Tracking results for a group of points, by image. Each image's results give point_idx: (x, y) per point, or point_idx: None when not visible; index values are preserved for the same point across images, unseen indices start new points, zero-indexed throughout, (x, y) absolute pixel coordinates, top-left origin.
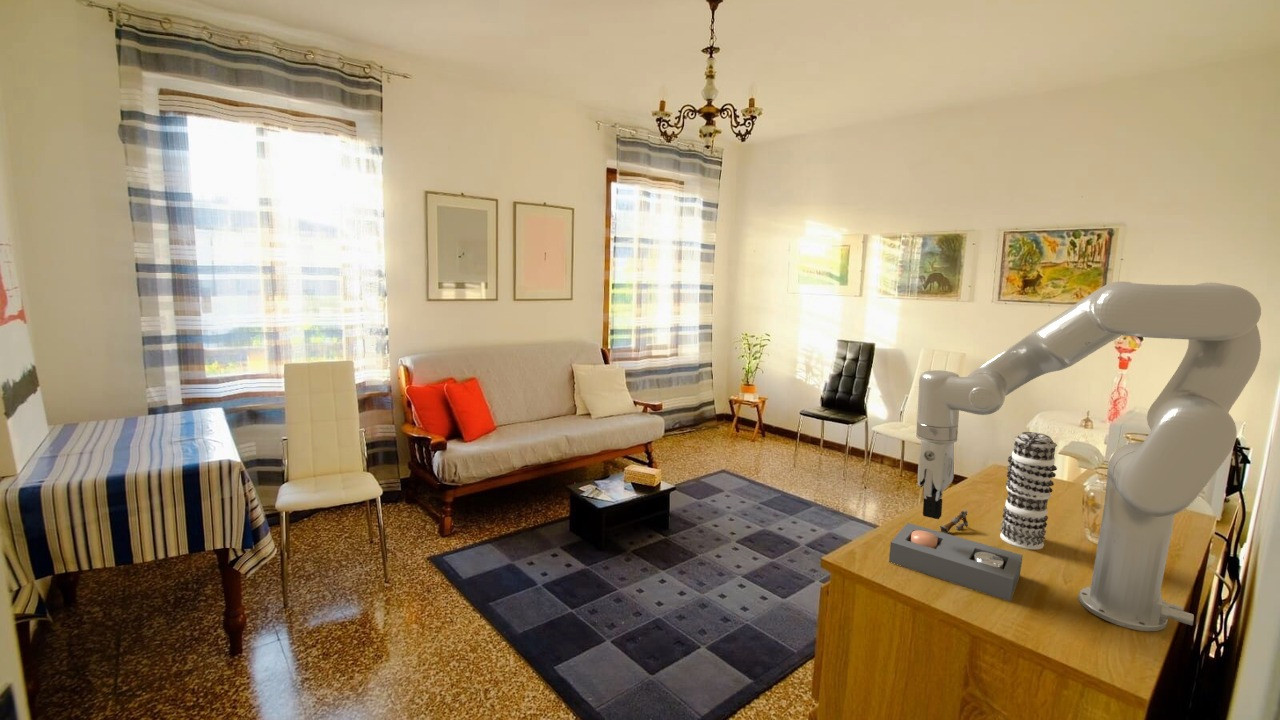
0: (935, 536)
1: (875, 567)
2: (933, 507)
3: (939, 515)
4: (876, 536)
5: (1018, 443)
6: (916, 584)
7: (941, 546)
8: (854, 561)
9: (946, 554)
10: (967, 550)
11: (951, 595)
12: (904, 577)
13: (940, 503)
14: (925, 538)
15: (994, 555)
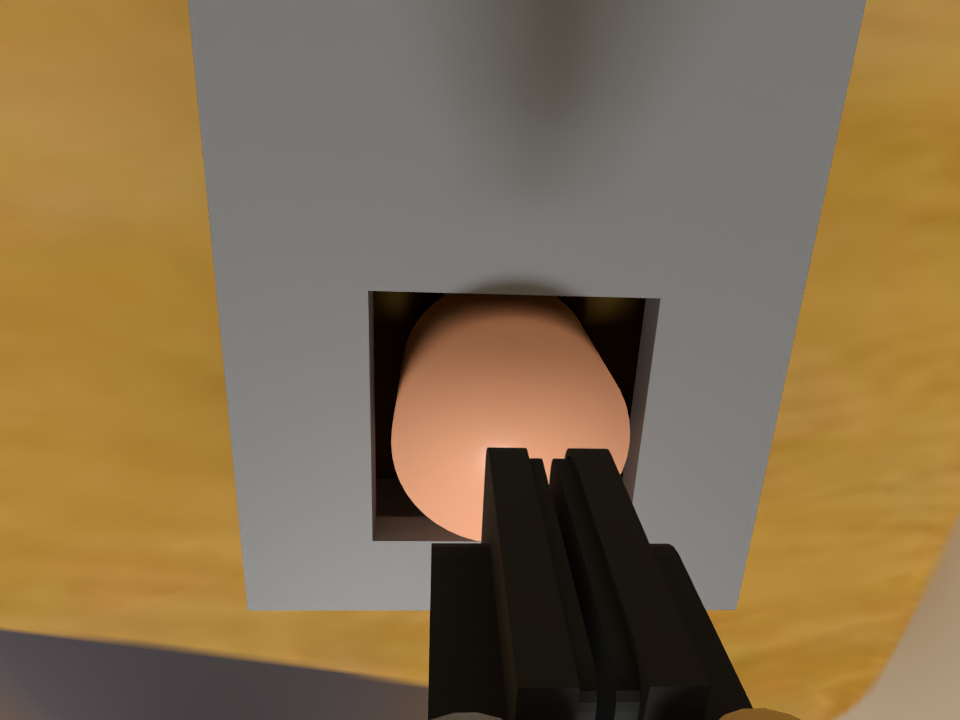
0: (456, 360)
1: (796, 547)
2: (716, 652)
3: (616, 476)
4: (355, 656)
5: None
6: (898, 299)
7: (566, 267)
8: (784, 649)
9: (725, 191)
10: (491, 17)
11: (948, 59)
12: (838, 383)
13: (669, 635)
14: (566, 423)
15: None
